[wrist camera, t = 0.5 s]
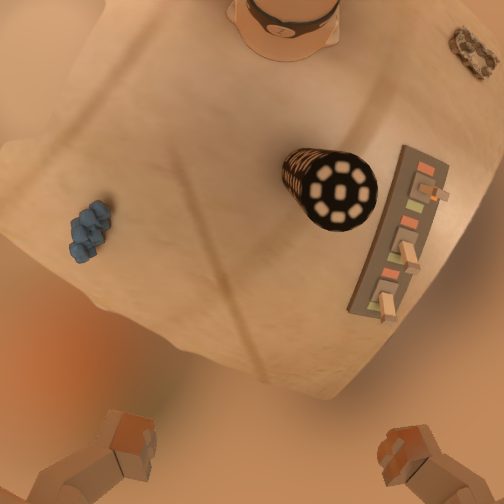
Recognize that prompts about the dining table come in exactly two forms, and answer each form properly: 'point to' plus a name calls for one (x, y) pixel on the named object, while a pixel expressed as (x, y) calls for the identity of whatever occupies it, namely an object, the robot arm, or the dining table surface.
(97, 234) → the blue lobed flower shape
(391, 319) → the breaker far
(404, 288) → the breaker panel
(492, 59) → the egg carton
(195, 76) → the dining table surface
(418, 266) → the breaker mid
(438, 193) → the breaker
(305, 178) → the white-spotted black cylinder
